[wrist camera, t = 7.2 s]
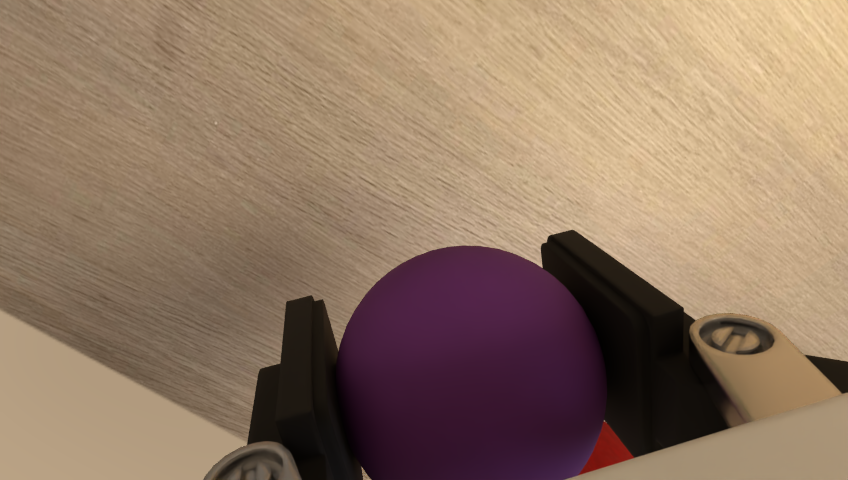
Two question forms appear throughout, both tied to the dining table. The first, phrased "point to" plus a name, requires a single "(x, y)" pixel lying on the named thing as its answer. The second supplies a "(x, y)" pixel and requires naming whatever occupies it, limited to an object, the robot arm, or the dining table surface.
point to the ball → (471, 372)
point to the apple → (606, 451)
